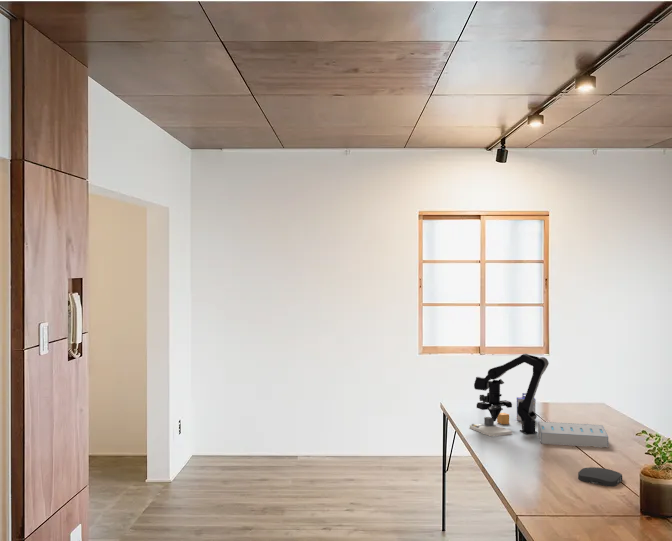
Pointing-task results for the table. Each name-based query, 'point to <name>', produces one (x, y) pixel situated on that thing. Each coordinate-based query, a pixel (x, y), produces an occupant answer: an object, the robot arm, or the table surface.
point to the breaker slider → (488, 421)
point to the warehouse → (572, 434)
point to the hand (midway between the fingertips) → (494, 421)
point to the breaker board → (490, 429)
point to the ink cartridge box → (521, 400)
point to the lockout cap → (503, 418)
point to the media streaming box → (600, 476)
